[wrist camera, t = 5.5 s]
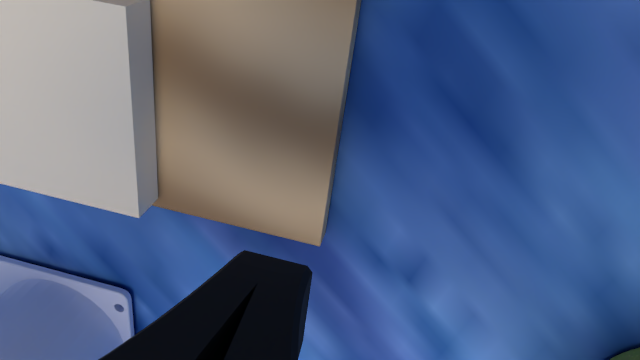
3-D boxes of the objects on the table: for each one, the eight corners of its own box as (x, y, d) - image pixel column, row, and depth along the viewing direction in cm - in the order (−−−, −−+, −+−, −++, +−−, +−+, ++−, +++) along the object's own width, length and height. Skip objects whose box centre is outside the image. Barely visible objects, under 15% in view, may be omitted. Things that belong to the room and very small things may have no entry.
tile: (139, 218, 21) (-10, 181, 22) (159, 197, 22) (18, 163, 23) (125, 6, 17) (-58, -29, 18) (151, -4, 18) (-20, -35, 19)
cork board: (325, 232, 22) (319, 246, 21) (3, 154, 24) (-13, 164, 23) (375, -91, 16) (370, -89, 15) (-61, -157, 18) (-86, -158, 17)
